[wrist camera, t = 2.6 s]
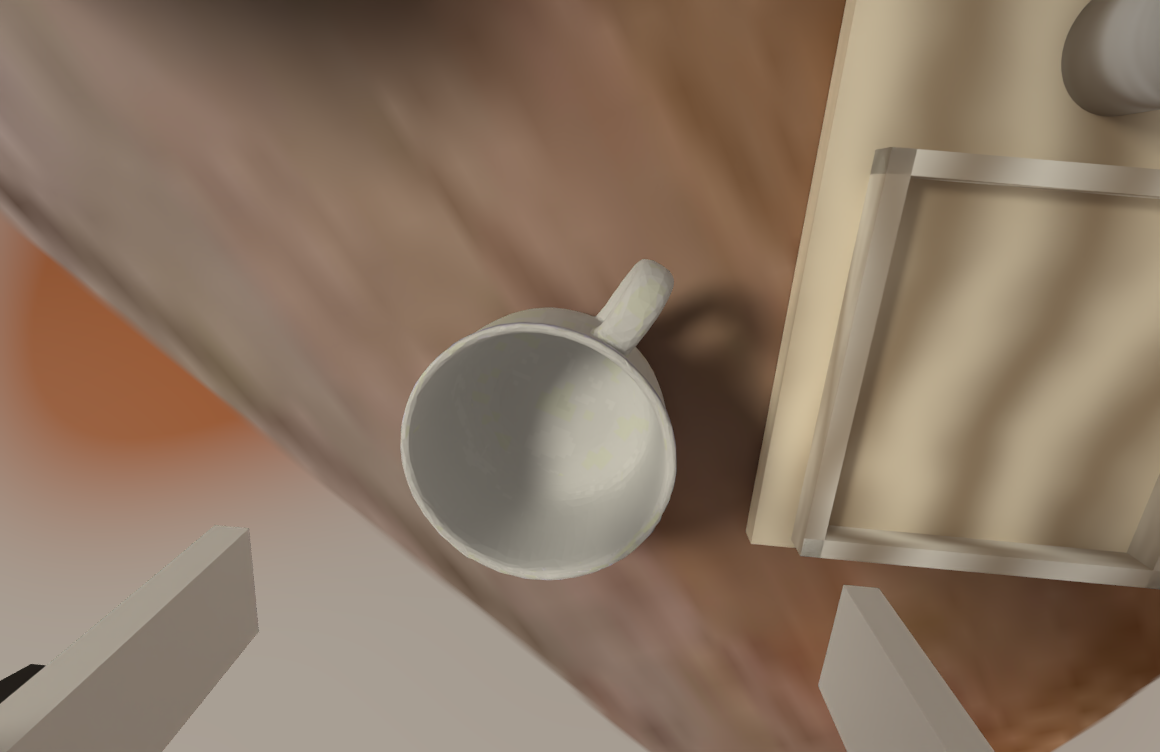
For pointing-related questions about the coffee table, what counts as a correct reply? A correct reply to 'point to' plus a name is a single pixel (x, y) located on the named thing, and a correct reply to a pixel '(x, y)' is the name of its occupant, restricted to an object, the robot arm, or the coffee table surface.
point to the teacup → (546, 436)
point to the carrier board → (978, 298)
